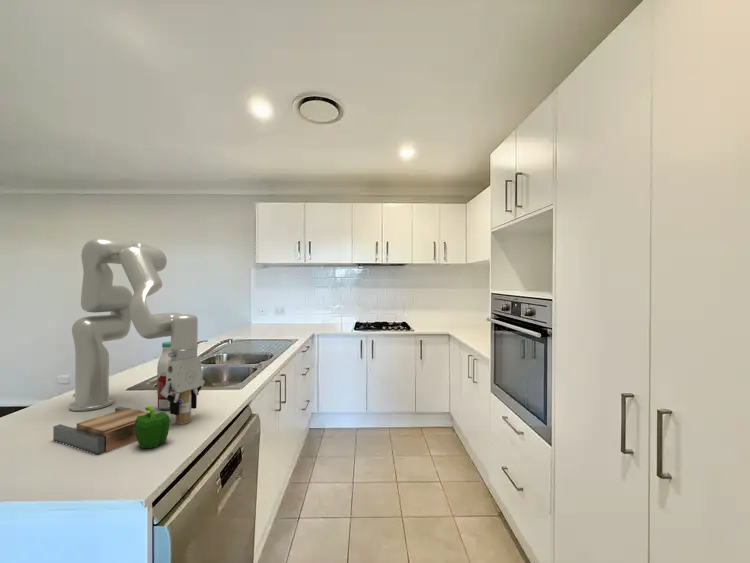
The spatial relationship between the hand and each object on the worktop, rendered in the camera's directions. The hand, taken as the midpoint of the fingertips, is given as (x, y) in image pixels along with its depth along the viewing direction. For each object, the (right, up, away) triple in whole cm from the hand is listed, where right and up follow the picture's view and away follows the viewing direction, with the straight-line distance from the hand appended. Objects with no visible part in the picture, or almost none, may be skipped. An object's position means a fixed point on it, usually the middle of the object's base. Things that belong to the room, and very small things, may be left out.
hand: (183, 410), depth 118 cm
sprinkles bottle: (0, -4, 0) cm, 4 cm away
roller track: (-16, -3, -11) cm, 19 cm away
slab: (-13, -1, -12) cm, 17 cm away
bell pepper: (0, -4, -16) cm, 17 cm away
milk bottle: (-22, -4, +30) cm, 37 cm away
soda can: (-12, -4, +13) cm, 18 cm away
